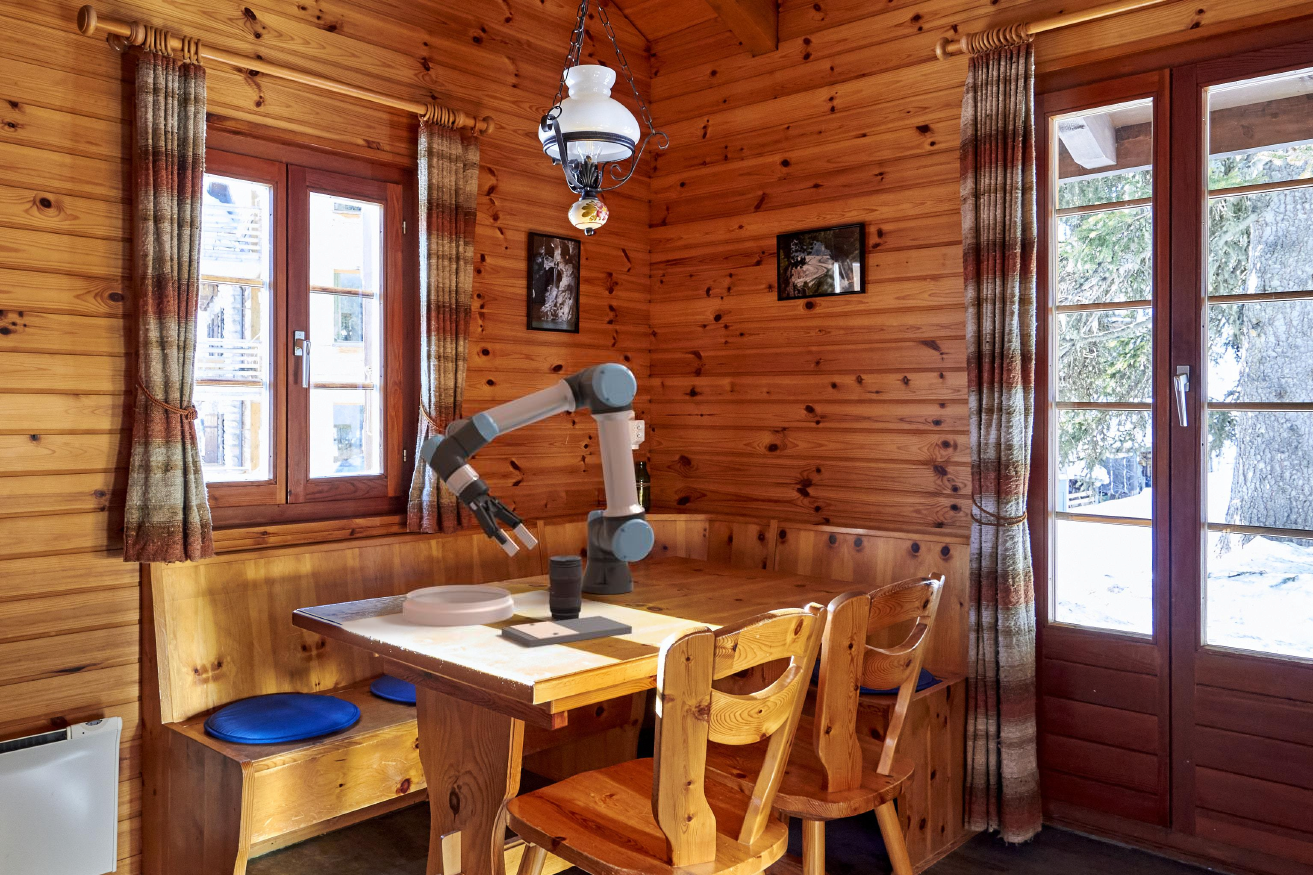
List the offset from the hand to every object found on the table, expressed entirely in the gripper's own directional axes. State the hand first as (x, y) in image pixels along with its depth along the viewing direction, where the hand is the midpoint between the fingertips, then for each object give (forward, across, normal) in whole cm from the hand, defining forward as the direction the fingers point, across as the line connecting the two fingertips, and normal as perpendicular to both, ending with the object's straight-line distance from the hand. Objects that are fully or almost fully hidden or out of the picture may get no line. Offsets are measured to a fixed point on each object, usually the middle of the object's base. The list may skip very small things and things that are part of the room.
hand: (525, 549), depth 231 cm
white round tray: (+1, +2, -24) cm, 24 cm away
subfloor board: (+23, +16, 0) cm, 28 cm away
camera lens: (+19, 0, -4) cm, 20 cm away
